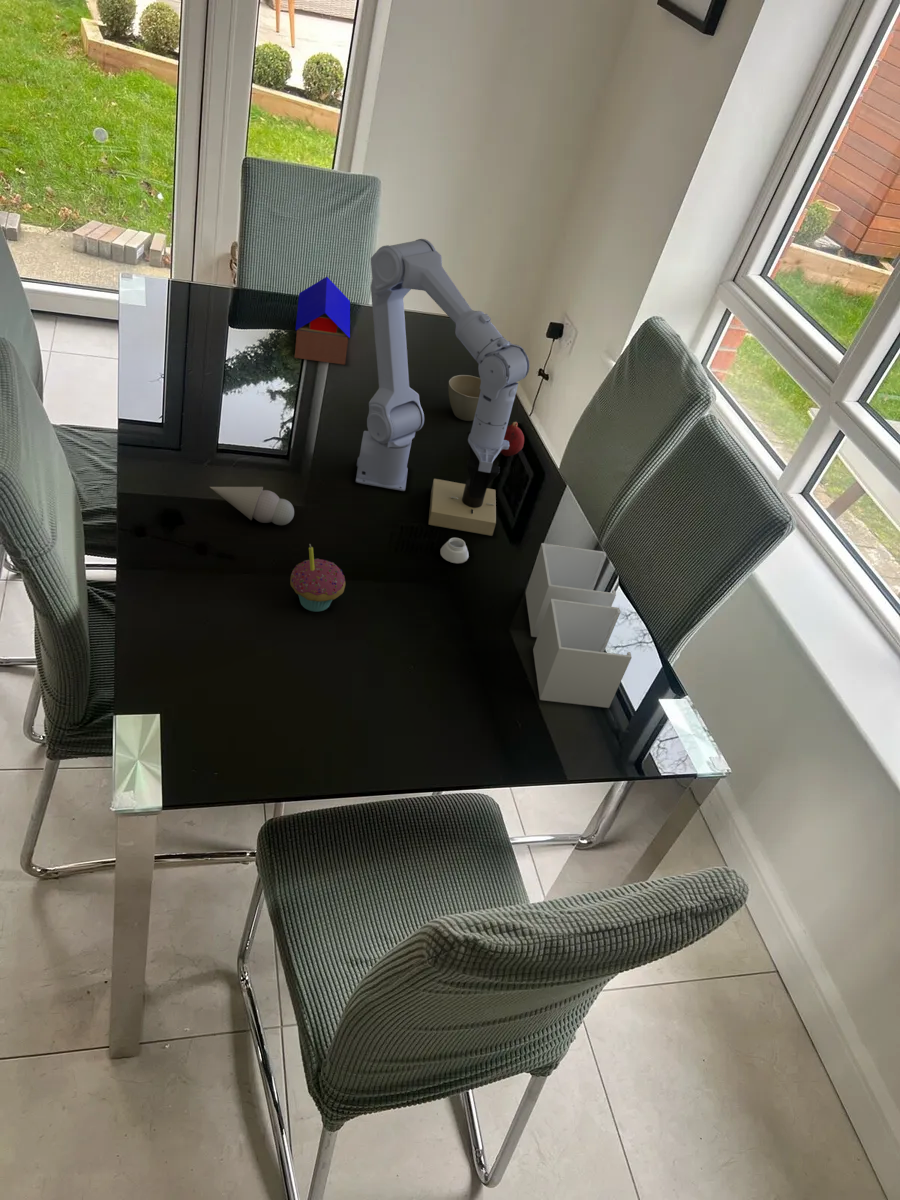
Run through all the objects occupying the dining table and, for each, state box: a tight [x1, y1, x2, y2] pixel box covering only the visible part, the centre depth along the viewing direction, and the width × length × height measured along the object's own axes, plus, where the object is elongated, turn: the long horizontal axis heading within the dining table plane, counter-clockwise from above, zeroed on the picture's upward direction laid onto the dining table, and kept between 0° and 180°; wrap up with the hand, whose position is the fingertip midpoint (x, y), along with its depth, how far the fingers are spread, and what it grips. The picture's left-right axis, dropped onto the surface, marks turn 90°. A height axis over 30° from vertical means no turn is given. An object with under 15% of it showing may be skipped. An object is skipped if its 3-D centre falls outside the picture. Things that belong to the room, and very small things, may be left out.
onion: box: [500, 421, 525, 458], centre depth 188 cm, size 6×6×8 cm
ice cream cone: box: [209, 486, 295, 526], centre depth 156 cm, size 6×6×15 cm
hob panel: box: [427, 478, 497, 537], centre depth 171 cm, size 12×11×3 cm
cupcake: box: [289, 543, 346, 612], centre depth 141 cm, size 9×8×12 cm
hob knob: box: [462, 478, 487, 508], centre depth 168 cm, size 4×4×4 cm
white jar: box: [439, 537, 470, 564], centre depth 160 cm, size 5×3×5 cm
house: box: [294, 276, 351, 366], centre depth 209 cm, size 12×20×12 cm, turn 5°
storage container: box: [525, 542, 632, 709], centre depth 145 cm, size 25×11×11 cm, turn 2°
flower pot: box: [447, 374, 481, 422], centre depth 198 cm, size 10×10×7 cm
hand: (475, 484), depth 161 cm, fingers open, 7 cm apart
